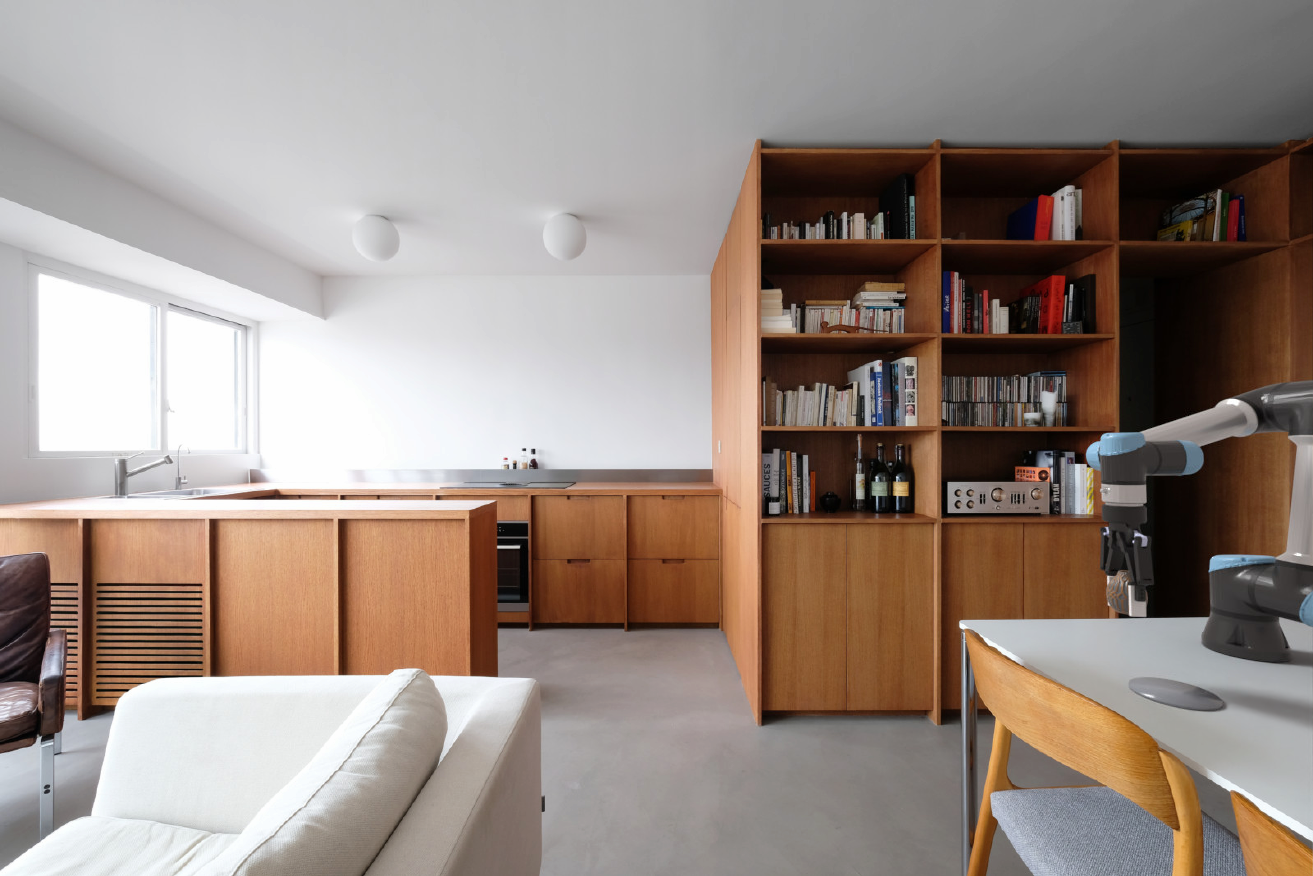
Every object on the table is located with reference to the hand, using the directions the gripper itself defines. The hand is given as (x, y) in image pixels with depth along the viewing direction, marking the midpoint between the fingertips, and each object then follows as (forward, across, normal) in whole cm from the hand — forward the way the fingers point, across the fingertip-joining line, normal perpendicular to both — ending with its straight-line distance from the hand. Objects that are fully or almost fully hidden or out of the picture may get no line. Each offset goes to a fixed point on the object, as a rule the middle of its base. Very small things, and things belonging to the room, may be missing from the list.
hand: (1126, 610), depth 123 cm
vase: (+1, 0, 0) cm, 1 cm away
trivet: (+15, +6, +4) cm, 17 cm away
